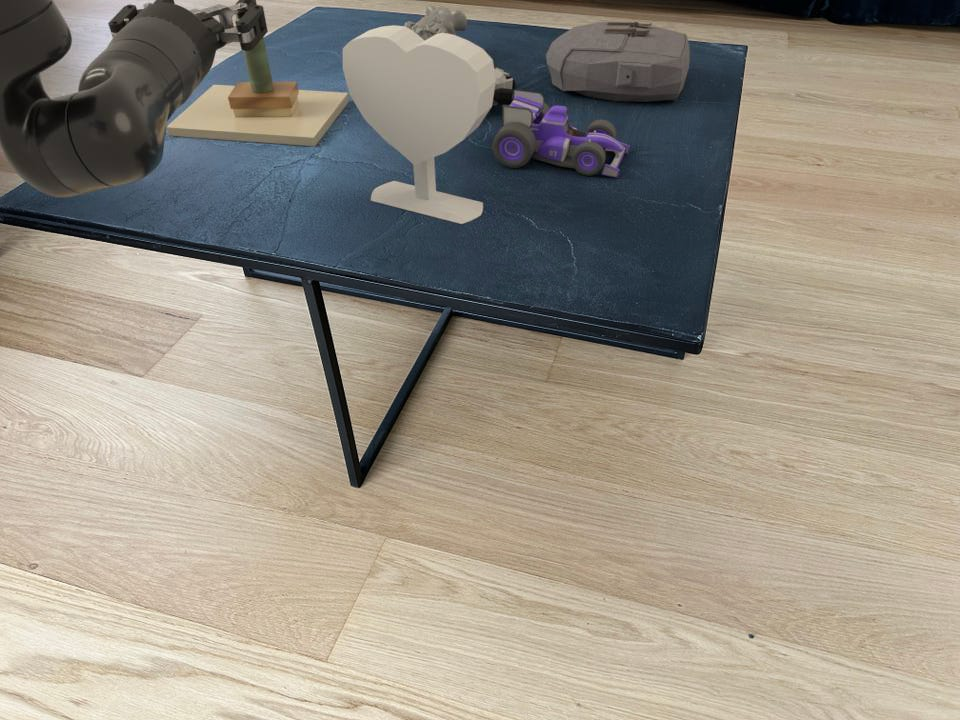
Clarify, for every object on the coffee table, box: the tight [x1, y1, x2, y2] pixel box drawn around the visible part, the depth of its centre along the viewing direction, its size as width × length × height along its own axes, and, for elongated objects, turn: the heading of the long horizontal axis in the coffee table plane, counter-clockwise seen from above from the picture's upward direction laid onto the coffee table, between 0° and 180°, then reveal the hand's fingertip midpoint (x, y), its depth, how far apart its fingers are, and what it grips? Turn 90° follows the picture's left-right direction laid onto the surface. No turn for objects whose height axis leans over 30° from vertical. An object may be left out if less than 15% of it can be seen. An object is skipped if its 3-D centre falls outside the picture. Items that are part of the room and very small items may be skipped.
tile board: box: [166, 84, 350, 147], centre depth 100 cm, size 20×14×1 cm
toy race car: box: [491, 89, 631, 178], centre depth 89 cm, size 10×15×6 cm, turn 70°
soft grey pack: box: [545, 21, 691, 103], centre depth 105 cm, size 15×8×20 cm
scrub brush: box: [228, 14, 299, 117], centre depth 96 cm, size 8×5×13 cm, turn 90°
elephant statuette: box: [403, 4, 468, 41], centre depth 112 cm, size 9×12×8 cm
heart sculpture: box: [342, 24, 496, 225], centre depth 78 cm, size 16×5×18 cm, turn 63°
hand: (210, 3), depth 81 cm, fingers open, 8 cm apart
